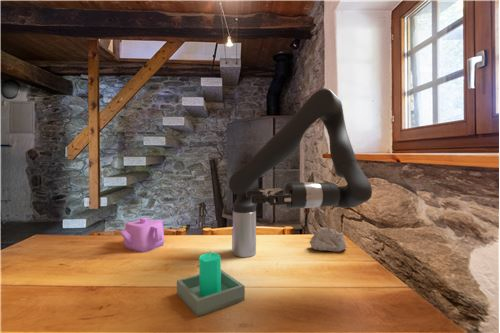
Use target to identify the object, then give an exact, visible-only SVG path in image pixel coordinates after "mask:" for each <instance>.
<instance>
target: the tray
mask: <svg viewBox="0 0 500 333" xmlns="http://www.w3.org/2000/svg"><path fill="white" fill-rule="evenodd" d="M245 287H246V286H245V285H244V284H242V283H241V282H240V281H239V280H237V279H236V278H234V277H233V276H231V275H229V274H228V273H227V272H226V271H224V270H222V269H221V291H220V292H217V293H214V294H211V295H208V296H205V297H201V296H200V282H199V273H198V274H196V275H192V276H187V277H184V278H180V279H176V295H177V296H178V297H179V298H180V299H181V300H182V301H183V302H184V304H185V305H186V306H187V308H189V309H190V310H191V312H193V314H194V315H195V316H196V317H197V318H199V317H201V316H204V315H207V314H209V313H212V312H215V311H218V310H220V309H223V308H226V307H229V306H233V305H235V304H237V303H240V302H243V301H245V300H246V298H245V295H246V294H245V293H246V292H245Z"/></svg>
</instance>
